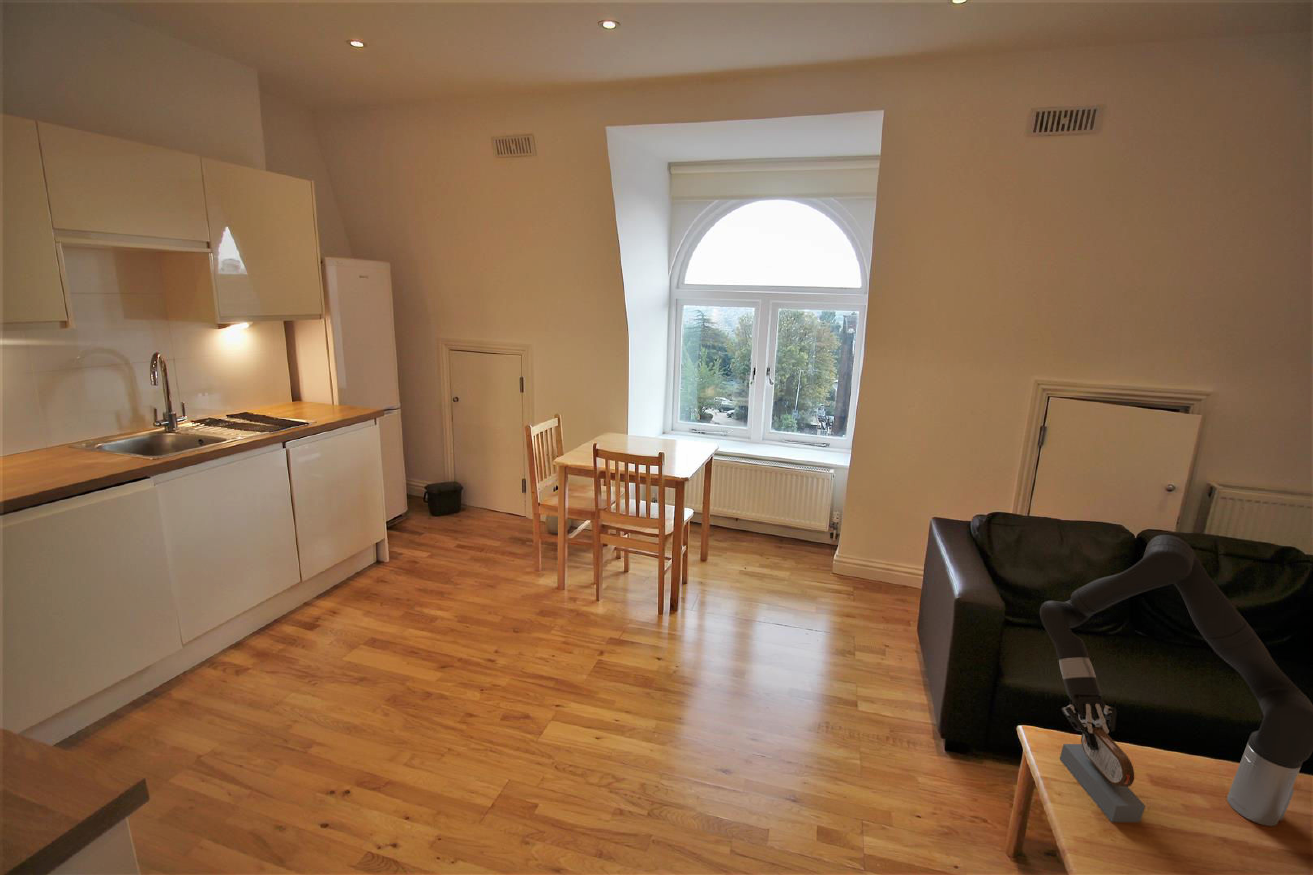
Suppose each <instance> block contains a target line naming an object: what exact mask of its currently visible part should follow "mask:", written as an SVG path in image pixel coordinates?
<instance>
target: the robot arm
mask: <svg viewBox="0 0 1313 875" xmlns="http://www.w3.org/2000/svg"><path fill="white" fill-rule="evenodd" d="M1173 584H1174V586H1175V587H1176V588H1177V590H1178V592H1179V594H1180V596H1181V597H1182V599H1183V601H1184V604H1185V607H1186V609H1187V611H1188V613H1189V616H1190V618H1191V620H1192V622H1193V624H1194V626H1195V628H1196V629H1197V631H1199V633H1200V635H1201V636H1202V637H1203V639H1204V640H1205V641H1206V643H1207V644H1208V645H1209V646H1210V647H1211V649H1212V650H1213V651H1214V652H1215V653H1216V654H1217V655H1218V656H1219V657H1220V658H1221V659H1222V660H1223V661H1224V662H1225V663H1227V664H1228V665H1229V666H1231V667H1232V668H1233V669H1234V670H1235V671H1236V672H1238V673H1239V675H1240V676H1241V677H1242V679H1243V680H1244V681H1245V683H1246V684H1247V685H1248V687H1249V688H1250V690H1251V692H1252V693H1253V695H1254V697H1255V699H1256V700H1257V702H1258V705H1259V708H1260V710H1261V712H1262V715H1263V719H1262V722H1261V724H1260V727H1259V729H1258V730H1255V731H1252V732H1251V734H1250V735H1249V738H1248V741H1247V743H1246V747H1245V749H1244V752H1243V754H1242V756H1241V760H1240V762H1239V765H1238V768H1237V770H1236V772H1235V776H1234V778H1233V781H1232V784H1231V787H1230V789H1229V792H1228V794H1227V799H1226V800H1227V802H1228V804H1229V806H1231V808H1232V809H1234V811H1236V813H1238V814H1240V815H1241V816H1242V817H1244V818H1246V819H1247V820H1249V821H1252V822H1253V823H1256V824H1258V825H1262V826H1267V827H1274V826H1276V825H1278V823H1279V821H1283V819H1284V817H1285V815H1286V812H1287V809H1288V807H1289V805H1290V802H1291V800H1292V797H1293V795H1294V792H1295V789H1294V784H1295V782H1296V780H1297V777H1298V775H1299V772H1300V770H1301V768H1302V765H1303V763H1304V762H1306V761H1307V760H1308V759H1309V758H1310V757H1311V755H1312V753H1313V703H1312V701H1311V700H1310V699H1309V698H1308V697H1307V695H1306V694H1304V693H1303V691H1301V689H1299V688H1298V687H1297V685H1296V684H1294V682H1292V680H1291V679H1290V678H1289V677H1288V676H1287V675H1286V674H1285V673H1284V671H1283V670H1281V668H1280V667H1279V666H1278V665H1277V664H1276V662H1275V661H1274V658H1272V656H1271V653H1269V650H1268V649H1267V648H1266V645H1265V644H1264V643H1263V642H1262V640H1261V639H1260V638H1259V636H1258V634H1256V632H1255V630H1254V629H1253V627H1251V626H1250V624H1249V623H1248V622H1247V620H1246V619H1245V618H1244V617H1243V615H1242V614H1241V613H1240V612H1239V611H1238V609H1237V608H1236V607H1235V606H1234V605H1233V604H1232V602H1231V601H1230V599H1228V597H1227V596H1226V595H1225V593H1224V592H1223V591H1222V590H1221V589H1220V588H1219V587H1218V585H1217V584H1216V583H1215V582H1214V581H1213V580H1212V578H1211V576H1209V573H1208V572H1207V571H1206V569H1205V567H1204V566H1203V565H1202V563H1201V560H1200V559H1199V558H1198V556H1197V555H1196V553H1195V551H1194V550H1193V548H1192V547H1191V546H1190V544H1189V543H1187V542H1186V541H1184V540H1183V539H1181V538H1179V537H1177V536H1174V535H1171V534H1159V535H1156V536H1154V537H1152V538H1151V540H1150V541H1148V543H1147V544H1146V547H1145V551H1144V553H1143V557H1142V558H1141V559H1140V560H1139V561H1138V562H1136V563H1134V564H1133V565H1132V566H1131V567H1130V568H1128V569H1126V570H1124V571H1122V572H1119V573H1116V574H1113V575H1107V576H1104V577H1103V576H1102V577H1100V578H1097V579H1094V580H1093V581H1090V582H1088V583H1087V584H1085V585H1082V586H1081V587H1079V588H1077V589H1076V590H1073V591H1072V593H1071V594H1070V599H1069V600H1067V601H1058V600H1057V601H1056V600H1046V601H1044V602H1043V603H1042V604H1041V606H1040V608H1039V617H1040V620H1041V623H1042V625H1043V627H1044V629H1045V632H1046V633H1047V635H1048V636H1049V638H1050V640H1051V641H1052V643H1053V645H1054V649H1055V652H1056V655H1057V659H1058V664H1059V670H1060V673H1061V677H1062V680H1063V684H1064V687H1065V690H1066V695H1067V696H1068V698H1069V704H1068V705H1067V706H1066V707H1061V712H1062V713H1063V715H1064V717H1066V719H1067V720H1068V721H1069V723H1070V725H1071V726H1072V727H1073V729H1074V730H1075V731H1076V732H1081V733H1082V732H1083V733H1084V735H1085V739H1086V742H1087V745H1088V747H1089V748H1090V749H1091V750H1098V745H1097V742H1096V739H1095V735H1094V734H1092V733H1093V729H1092V728H1093V725H1094V726H1095V727H1099V728H1101V729H1103V730H1104V731H1105V732H1106V733H1107V734H1108V735H1109V733H1110V732H1114V731H1115V730H1116V724H1117V722H1116V720H1117V715H1118V714H1117V712H1118V711H1117V708H1116V707H1114V706H1113V707H1111V706H1109V705H1106V704H1105V702H1104V700H1103V699H1102V692H1101V689H1100V685H1099V682H1098V679H1097V676H1096V673H1095V669H1094V667H1093V665H1092V662H1091V661H1090V658H1089V654H1088V651H1087V648H1086V644H1085V642H1084V640H1083V638H1082V637H1080V636H1078V635H1076V634H1075V633H1074V632H1073V631H1072V628H1073V629H1074V628H1076V627H1079V626H1081V625H1082V624H1084V623H1085V622H1087V621H1088V619H1090V618H1091V617H1092V616H1093V615H1094V614H1097V613H1099V612H1102V611H1103V610H1105V609H1107V608H1109V607H1112V606H1113V605H1116V604H1118V603H1119V602H1122V601H1124V600H1127V599H1129V598H1131V597H1134V596H1137V595H1139V594H1142V593H1145V592H1148V591H1152V590H1154V589H1157V588H1161V587H1165V586H1168V585H1173ZM1076 713H1077V714H1076ZM1077 715H1078V716H1077Z"/></svg>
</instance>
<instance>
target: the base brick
mask: <svg viewBox="0 0 1313 875" xmlns="http://www.w3.org/2000/svg"><path fill="white" fill-rule="evenodd" d="M1059 761H1061V763H1062V764H1063V766H1064V767H1066V769H1067V770H1068V771H1069V773H1070V774H1071V775H1072V776H1073V777H1074V778H1075V780H1076V781H1077V782H1078V784H1079V785H1080V786H1081V788H1083V789H1084V791H1085V792H1086V793H1087V794H1088V795H1089V797H1090V798H1091V800H1093V802H1094V803H1095V804H1096V805H1097V806H1098V808H1099V809H1100V810H1101V811H1102V813H1103V814H1104V815H1105V816H1106V817H1107V819H1108V820H1109V822H1111V823H1140V822H1141V821H1142V818H1143V814H1144V811H1145V808H1146V804H1144V803H1143V802H1142V801H1141V799H1140V798H1139V797H1138V796H1137V795H1136V794H1135V793H1134V791H1132V789H1130V786H1128V787H1124V786H1116V785H1113V784H1111V783H1110V782H1109V781H1108V780H1107V779H1106V778H1105V777H1104V776H1103V774H1102V773H1101V772H1100V771H1099V770H1098V768H1097V767H1096V766H1095V765H1094V764H1093V762H1092V761H1091V760H1090V759H1089V758H1088V756H1087V755H1086V754H1085V752H1084V750H1083V747H1082V743H1063V745H1062V748H1061V752H1060V756H1059Z"/></svg>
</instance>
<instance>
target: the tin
mask: <svg viewBox="0 0 1313 875" xmlns="http://www.w3.org/2000/svg"><path fill="white" fill-rule="evenodd" d="M1092 729H1093V733H1092V734H1094V735H1095V739H1096V742H1097V745H1098V750H1091V749H1090V748H1089V747H1088V745H1087V742H1086V739H1085V735H1084V733H1083V732H1081V733H1082V734H1081V738H1080V742H1081V743H1080V744H1082V747H1083V750H1084V752H1085V754H1086V755H1087V756H1088V758H1089V759H1090V760H1091V761H1092V762H1093V764H1094V765H1095V766H1096V767H1097V768H1098V770H1099V771H1100V772H1101V773H1102V774H1103V776H1104V777H1105V778H1106V779H1107V780H1108V781H1109V782H1110V783H1111V784H1113V785H1116V786H1124V787H1131V786H1132V785H1133V784H1134V781H1135V770H1134V766H1133V764H1132V761H1131V760H1130V758H1129V756H1128V755H1127V754H1126V753H1125V752H1124V751H1123V750H1122V749H1121V747H1120V746H1119V744H1117V743H1116V742H1115V741H1114V740H1113V739H1112V738H1111V736H1110V735H1109V733H1108V734H1107V733H1106V732H1105V731H1104V730H1103V729H1101V728H1099V727H1096V726H1095V727H1092Z"/></svg>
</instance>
